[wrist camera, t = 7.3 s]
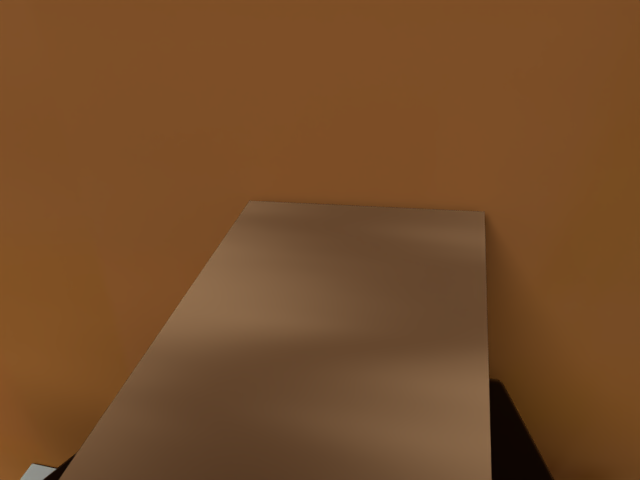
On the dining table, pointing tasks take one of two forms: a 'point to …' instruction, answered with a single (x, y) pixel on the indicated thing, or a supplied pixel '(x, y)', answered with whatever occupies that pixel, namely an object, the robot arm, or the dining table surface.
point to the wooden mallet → (315, 356)
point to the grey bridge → (37, 472)
